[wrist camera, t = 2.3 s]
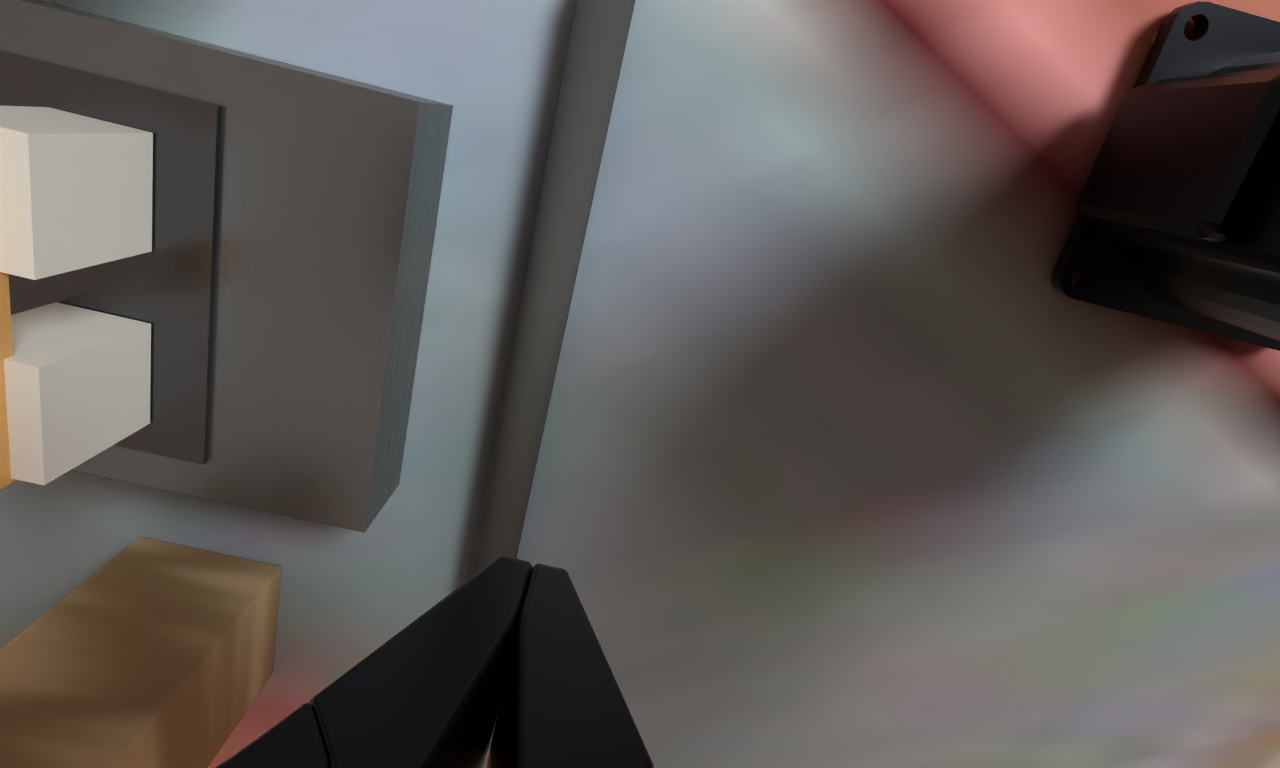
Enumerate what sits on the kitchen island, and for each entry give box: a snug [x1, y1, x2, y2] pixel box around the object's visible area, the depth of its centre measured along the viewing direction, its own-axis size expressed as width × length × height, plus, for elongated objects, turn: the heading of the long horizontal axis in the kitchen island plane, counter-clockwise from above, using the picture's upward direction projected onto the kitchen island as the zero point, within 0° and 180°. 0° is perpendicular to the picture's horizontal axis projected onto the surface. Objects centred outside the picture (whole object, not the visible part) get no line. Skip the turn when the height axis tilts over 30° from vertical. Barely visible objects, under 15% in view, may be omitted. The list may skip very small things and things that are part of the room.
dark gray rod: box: [467, 0, 635, 581], centre depth 18 cm, size 1×17×1 cm, turn 166°
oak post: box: [0, 537, 281, 768], centre depth 16 cm, size 4×4×11 cm
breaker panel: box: [0, 0, 453, 533], centre depth 16 cm, size 12×10×3 cm
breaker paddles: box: [0, 105, 153, 489], centre depth 13 cm, size 2×7×4 cm, turn 167°
